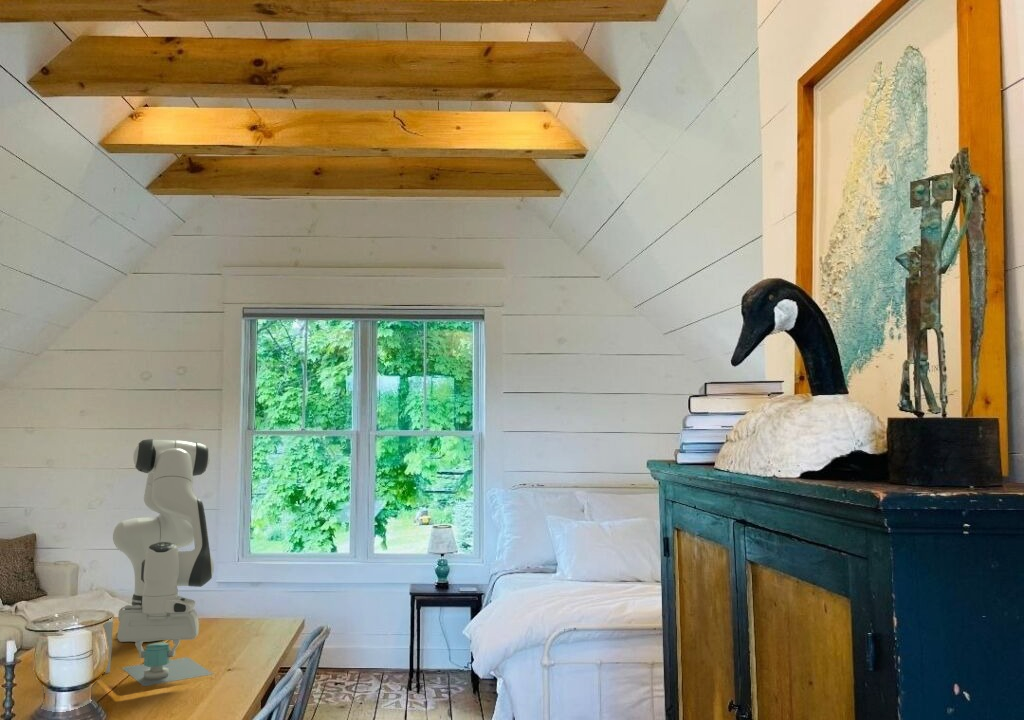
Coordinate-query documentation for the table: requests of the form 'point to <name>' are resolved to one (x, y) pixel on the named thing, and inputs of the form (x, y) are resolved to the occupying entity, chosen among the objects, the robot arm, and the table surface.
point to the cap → (156, 654)
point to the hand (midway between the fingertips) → (157, 657)
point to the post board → (173, 672)
